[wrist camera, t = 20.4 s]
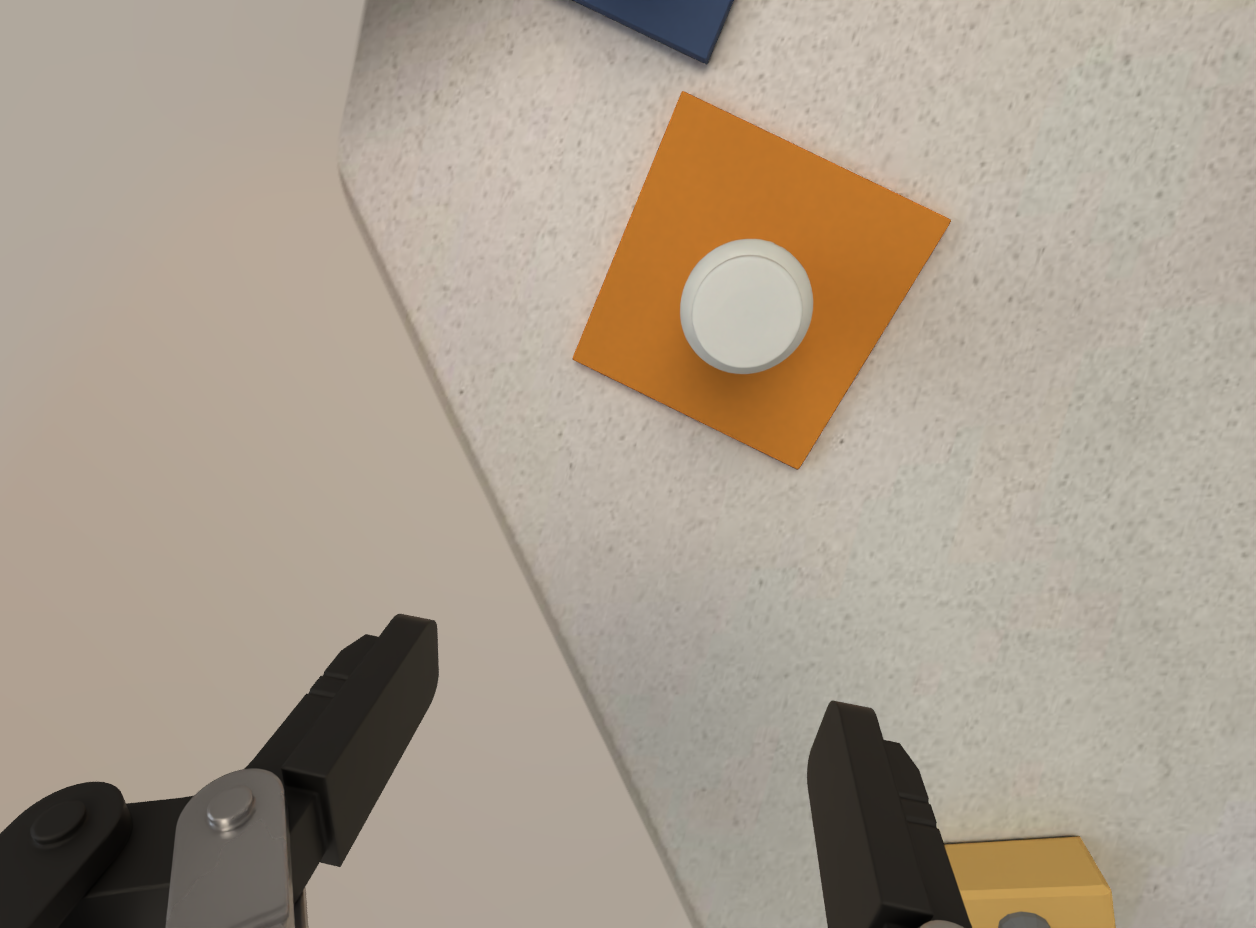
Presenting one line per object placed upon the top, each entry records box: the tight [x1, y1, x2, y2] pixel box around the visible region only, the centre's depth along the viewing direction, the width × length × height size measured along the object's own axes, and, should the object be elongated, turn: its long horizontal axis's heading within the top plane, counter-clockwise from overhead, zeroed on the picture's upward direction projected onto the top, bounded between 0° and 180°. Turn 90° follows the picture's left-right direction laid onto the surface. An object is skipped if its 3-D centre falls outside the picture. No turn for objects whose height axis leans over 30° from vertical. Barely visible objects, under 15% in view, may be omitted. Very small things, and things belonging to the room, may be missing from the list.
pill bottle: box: [680, 239, 813, 374], centre depth 26 cm, size 5×5×10 cm
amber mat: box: [573, 91, 951, 469], centre depth 30 cm, size 14×14×1 cm
